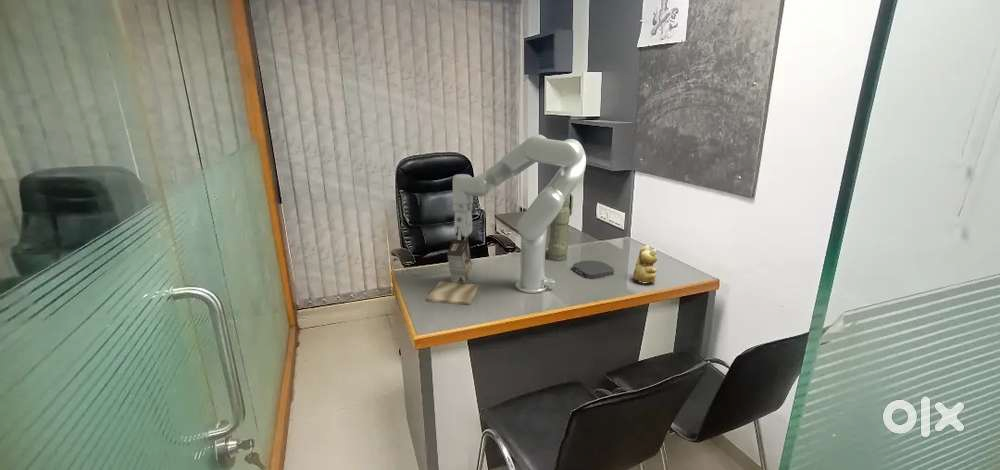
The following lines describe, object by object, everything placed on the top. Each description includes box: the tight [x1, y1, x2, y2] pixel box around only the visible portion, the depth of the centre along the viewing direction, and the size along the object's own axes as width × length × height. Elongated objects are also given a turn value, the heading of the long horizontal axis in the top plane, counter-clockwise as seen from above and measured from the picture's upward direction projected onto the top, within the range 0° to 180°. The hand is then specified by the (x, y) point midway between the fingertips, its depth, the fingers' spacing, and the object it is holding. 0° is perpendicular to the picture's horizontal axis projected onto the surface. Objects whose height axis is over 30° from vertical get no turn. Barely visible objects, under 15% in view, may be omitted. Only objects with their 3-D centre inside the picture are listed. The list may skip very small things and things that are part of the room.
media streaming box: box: [572, 260, 615, 280], centre depth 197 cm, size 15×15×3 cm
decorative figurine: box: [633, 244, 658, 283], centre depth 185 cm, size 10×8×15 cm
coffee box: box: [446, 239, 473, 284], centre depth 180 cm, size 9×6×16 cm
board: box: [426, 281, 480, 306], centre depth 173 cm, size 16×16×1 cm
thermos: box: [547, 193, 574, 262], centre depth 208 cm, size 9×12×35 cm
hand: (463, 251), depth 183 cm, fingers closed
